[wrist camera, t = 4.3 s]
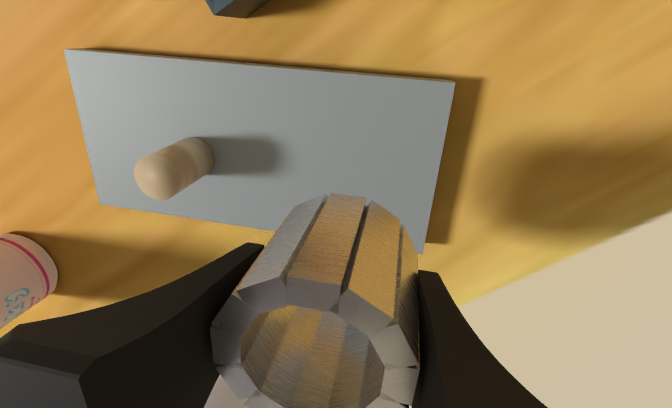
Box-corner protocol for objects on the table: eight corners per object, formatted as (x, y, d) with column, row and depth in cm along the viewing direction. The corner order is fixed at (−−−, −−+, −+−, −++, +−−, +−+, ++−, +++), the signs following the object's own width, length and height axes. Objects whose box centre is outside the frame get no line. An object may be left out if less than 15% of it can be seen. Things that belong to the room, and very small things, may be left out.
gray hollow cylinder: (404, 327, 14) (400, 455, 10) (276, 303, 15) (219, 413, 11) (426, 205, 12) (434, 301, 8) (275, 185, 13) (202, 261, 9)
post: (216, 177, 21) (179, 203, 17) (180, 172, 21) (137, 197, 18) (213, 138, 20) (174, 159, 16) (175, 134, 20) (129, 153, 17)
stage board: (422, 243, 21) (422, 254, 20) (113, 196, 24) (99, 204, 23) (453, 80, 17) (455, 82, 16) (82, 48, 20) (63, 49, 19)
